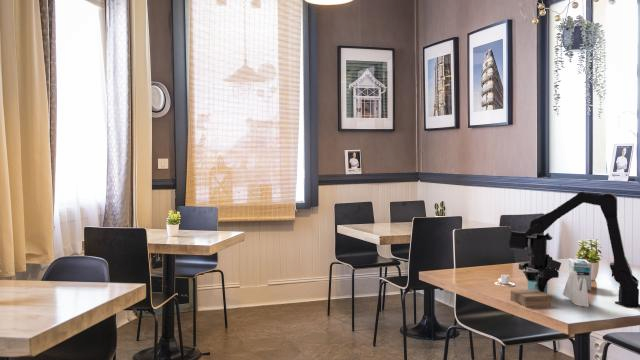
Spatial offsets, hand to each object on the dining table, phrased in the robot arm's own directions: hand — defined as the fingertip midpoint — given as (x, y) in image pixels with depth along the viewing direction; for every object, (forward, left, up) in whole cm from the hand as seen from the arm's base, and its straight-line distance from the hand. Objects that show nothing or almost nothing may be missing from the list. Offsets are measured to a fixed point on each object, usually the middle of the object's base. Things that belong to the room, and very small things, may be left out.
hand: (537, 292), depth 232 cm
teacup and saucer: (+21, 0, -2) cm, 21 cm away
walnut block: (-11, +9, -1) cm, 14 cm away
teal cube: (0, 0, -1) cm, 1 cm away
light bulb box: (+10, -24, -1) cm, 26 cm away
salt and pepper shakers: (-13, -7, -1) cm, 15 cm away
